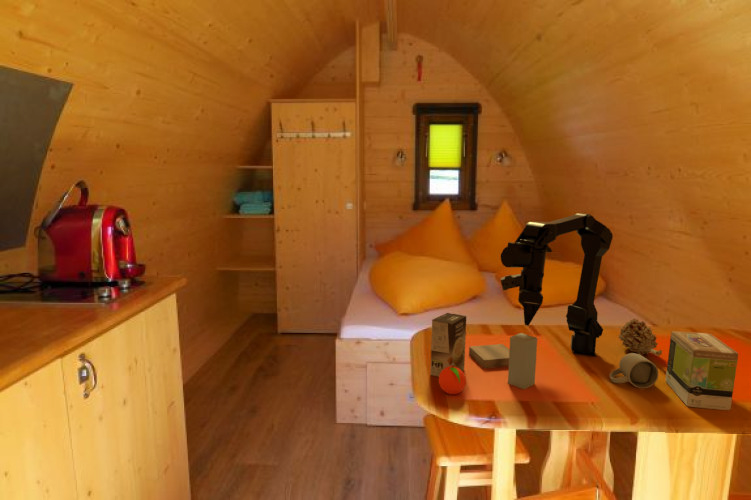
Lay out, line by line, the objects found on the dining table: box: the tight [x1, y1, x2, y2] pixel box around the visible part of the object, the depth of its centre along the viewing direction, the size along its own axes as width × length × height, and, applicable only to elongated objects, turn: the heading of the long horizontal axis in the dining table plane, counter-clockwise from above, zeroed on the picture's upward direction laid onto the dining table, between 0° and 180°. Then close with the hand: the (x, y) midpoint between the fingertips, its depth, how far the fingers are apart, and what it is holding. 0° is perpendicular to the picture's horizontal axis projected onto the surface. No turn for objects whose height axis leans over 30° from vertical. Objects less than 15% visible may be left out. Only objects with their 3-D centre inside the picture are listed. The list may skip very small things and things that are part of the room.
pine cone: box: [618, 318, 663, 357], centre depth 152 cm, size 22×10×10 cm, turn 2°
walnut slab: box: [468, 343, 510, 369], centre depth 151 cm, size 11×11×3 cm
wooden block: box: [507, 332, 538, 390], centre depth 133 cm, size 5×5×13 cm
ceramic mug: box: [609, 352, 659, 389], centre depth 135 cm, size 11×8×8 cm
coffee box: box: [430, 312, 467, 378], centre depth 140 cm, size 9×6×16 cm
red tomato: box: [438, 366, 467, 395], centre depth 128 cm, size 8×7×7 cm
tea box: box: [665, 330, 739, 411], centre depth 126 cm, size 15×10×15 cm, turn 168°
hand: (526, 321), depth 142 cm, fingers open, 9 cm apart
